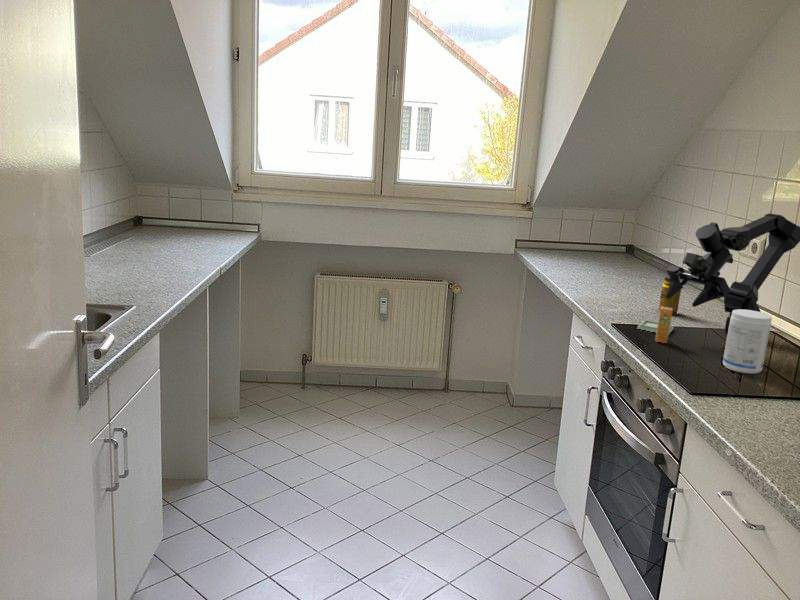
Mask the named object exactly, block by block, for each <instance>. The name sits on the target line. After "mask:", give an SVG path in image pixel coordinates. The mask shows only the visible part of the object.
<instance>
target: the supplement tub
mask: <svg viewBox="0 0 800 600" xmlns="http://www.w3.org/2000/svg"><path fill="white" fill-rule="evenodd" d="M772 318H773V317H772V315H770V314H768V313H765V312H758V311H752V310H744V309H737V310H733V311H732V315H731V318H730V324H729V329H728V334H726V340H725V347H724V352H723V358H722V364H723V366H724V367H725V368H727V369H728V370H731V371H734V372H736V373H737V372H738V373H742V374H748V375H749V374H750V375H751V374H754V375H755V374H759V373H761V372H762V370H763V368H764V364H765V363H764V362H765V358H766V352H767V348H768V342H769V338H770V337H769V336H770V333H771V327H772V320H773V319H772Z"/></svg>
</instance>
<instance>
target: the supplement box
mask: <svg viewBox="0 0 800 600" xmlns="http://www.w3.org/2000/svg"><path fill="white" fill-rule="evenodd" d="M672 311H673V308H668V307H663V306H661V309H660V313H659V317H658V321H657V322H658V327H657V332H656V333H655V338H654V342H655V341H656V342H655V343H657V342H662V343H661V344H663V343H666V344H667V343H668V338H669V337H668V336H669V335H668V333H669V328H670V325H671V321H672V318H673V317H672V316H673V315H672Z"/></svg>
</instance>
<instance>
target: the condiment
mask: <svg viewBox="0 0 800 600" xmlns="http://www.w3.org/2000/svg"><path fill="white" fill-rule="evenodd" d="M670 281H671V279H670V277H669V276H665V277H664V281H663V284H662V286H661V290H660V291H661V293H660V297H659V298H660V299H659V302H658V305H659V306H658V310H659V312H660V309H661V306H663V307H668V308H673V311H672V316H680V317H681V316H687V315H686V314H684V313H682V312H680V311H679V312H678V314H677V311H678V310H679V304H680V298H681V292H682V289H681V290H680V291H678V292H677V293H676V294H675V295H673V296H672V297H671V298H669V299H667V298H666V295H667V291H668V288H669V285H670ZM659 312H658V313H659ZM676 314H677V315H676Z"/></svg>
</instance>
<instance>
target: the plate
mask: <svg viewBox="0 0 800 600" xmlns="http://www.w3.org/2000/svg"><path fill="white" fill-rule="evenodd" d="M657 327H658V321H654V320H648V319H643V321H642V322H640V324H638V325H637V328H636V329H641V330H640V331H642V330H646V331H645V332H647V331H650V332H649V333H652V332H655V333H654V334H656V332H657ZM674 328H675V327H674V326H673V324H670V328H669V333H668V336H670V334H671V333H672V331H673V330H674ZM670 332H671V333H670Z"/></svg>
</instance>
